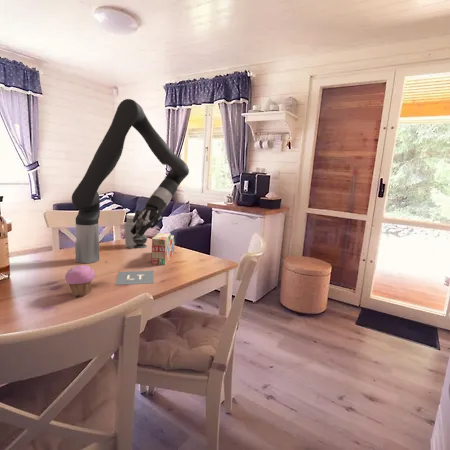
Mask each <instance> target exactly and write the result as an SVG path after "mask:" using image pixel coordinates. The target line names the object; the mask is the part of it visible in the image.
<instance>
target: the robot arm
mask: <svg viewBox="0 0 450 450" xmlns="http://www.w3.org/2000/svg"><path fill="white" fill-rule="evenodd" d="M132 127H133V129H135V130H136V131H137V133H138V134H140V135H141V137H142V138H143V140H144V141H145V143H146V144H147V146H148V148H149V149H150V151H151V152H152V154H153V155H154V156H155V158H156V159H157V160H158V161H159V162H160V163H161V164H162V165H163V166H165V165H167V167H169V168H170V170H169V171H168V172H167V175H166V176H165V178H164V179H163V180H162V182H161V183H160V184H159V185H158V187H157V188H156V189H155V190H154V191H153V193H152V194H151V195H150V197H149V198H148V199H147V201H146V202H145V207H144V208H143V209H142V210H141V211H140V210H136V211H135V216H134V219H133V222H134V223H135V225H134V226H133V228H132V229H131V231H130V232H131V233H132V234H134V235H135V234H136V229H135V228H136V220H137V219H139V217H141V219H143V221H144V226H142V227H141V229H140V230H139V231H138V234H139V235H140V236H143V235H145V234H146V232H147V230H148V229H154V228H155V227H156V226H157V225H158V224H160V222H162V220H163V219H164V218H163V217H162V214H163V213H164V211H165V209H166V208H167V207H168V205H169V204H170V201H171V200H172V198H173V196H174V195H175V193H176V192H177V190H178V187H179V186H180V185H181V183H182V182H183V180H184V179H185V178H187V176H188V175H189V173H190V169H189V166H188V165H187V163H186V162H185V161H184V160H183V159H181V157H180V156H178V155H177V154H175V152H173V150H172V148H171V147H169V145H168V144H167V143H166V141H165V140H164V138H162V137H161V136H160V134H159V133H158V131H156V129H155V128H154V127H153V126H152V124H151V122H150V120H149V119H148V117H147V114H146V113H145V112H144V108H143V107H142V106H141V105H140V104H139V103H138V102H137V101H136V100H134V99H132V98H125V99H124V100H122V101H121V102H120V103H119V104H118V106H117V108H116V111H115V113H114V115H113V119H112V122H111V123H110V125H109V128H108V130H107V131H106V132H105V135H104V136H103V139H102V141H101V142H100V144H99V146H98V148H97V150H96V152H95V153H94V155H93V158H92V160H91V161H90V163H89V165H88V168H87V169H86V172H85V174H84V175H83V177H82V179H81V181H79V183H78V185H77V186H76V188H75V190H74V191H73V193H72V195H71V202H72V205H73V206H74V207H75V208H76V209H78V211H77V212H78V214H77V215H76V216H75V237H76V240H75V241H74V245H75V247H74V248H75V263H80V264H90V263H91V264H92V263H96V262H99V260H100V238H99V237H100V236H99V235H100V233H99V231H100V230H99V228H100V227H99V219H100V213H101V207H100V206H101V199H100V195H99V192H98V190H99V189H100V187H101V185H102V184H103V182H104V181H105V180H106V179H107V177H108V176H109V175H111V173H112V172H113V170H114V169H115V168H116V166H117V164H118V162H119V161H120V159H121V157H122V154H123V150H124V145H125V141H126V137H127V135H128V133H129V132H130V130H131V128H132Z"/></svg>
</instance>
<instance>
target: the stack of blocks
mask: <svg viewBox="0 0 450 450" xmlns="http://www.w3.org/2000/svg"><path fill="white" fill-rule="evenodd" d="M174 253H175V235H173V234H172V233H169V232H167V233H166V232H165V233H163V232H157V234H156V235H154V236H153V237H152V238H151V264H152V265H162V266H165V265H167V263H168V262H169V260H170V259H171V257H172V256H173V255H174Z"/></svg>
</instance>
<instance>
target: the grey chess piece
mask: <svg viewBox="0 0 450 450" xmlns="http://www.w3.org/2000/svg"><path fill="white" fill-rule="evenodd" d="M142 226H144V221H143V218H142V219H141V217H139V219H137V220H136V228H135V229H136V235H135V237H132V239H133V241H134V243H135V244H136V245H134V246H133V247H134V248H133V249H144V248H147V247H148V245H147V244H146V242H147V240H148V239H149V237H148V236H146V235H145V234H144V235H143V236H140V235H139V234H138V231H139V230H140V229H141V227H142Z"/></svg>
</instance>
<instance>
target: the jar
mask: <svg viewBox="0 0 450 450" xmlns="http://www.w3.org/2000/svg"><path fill="white" fill-rule="evenodd" d="M135 213H136V212H135ZM135 213H134V212H133V213H132V212H130V213H127V214H126V215H125V216H126V221H125V222H124V238H125V239H124V242H125V243H124V245H125V246H126V248H129V249H135V248H134V247H133V246H134V245H136V244H135V243H134V241H133V239H132V237H135V235H136V234H135V235H134V234H132V233H131V232H130V231H131V229H132V228H133V226H134V225H135V223H134V222H133V219H134V216H135Z"/></svg>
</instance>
